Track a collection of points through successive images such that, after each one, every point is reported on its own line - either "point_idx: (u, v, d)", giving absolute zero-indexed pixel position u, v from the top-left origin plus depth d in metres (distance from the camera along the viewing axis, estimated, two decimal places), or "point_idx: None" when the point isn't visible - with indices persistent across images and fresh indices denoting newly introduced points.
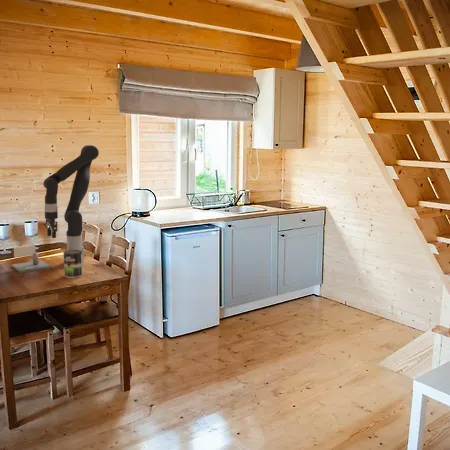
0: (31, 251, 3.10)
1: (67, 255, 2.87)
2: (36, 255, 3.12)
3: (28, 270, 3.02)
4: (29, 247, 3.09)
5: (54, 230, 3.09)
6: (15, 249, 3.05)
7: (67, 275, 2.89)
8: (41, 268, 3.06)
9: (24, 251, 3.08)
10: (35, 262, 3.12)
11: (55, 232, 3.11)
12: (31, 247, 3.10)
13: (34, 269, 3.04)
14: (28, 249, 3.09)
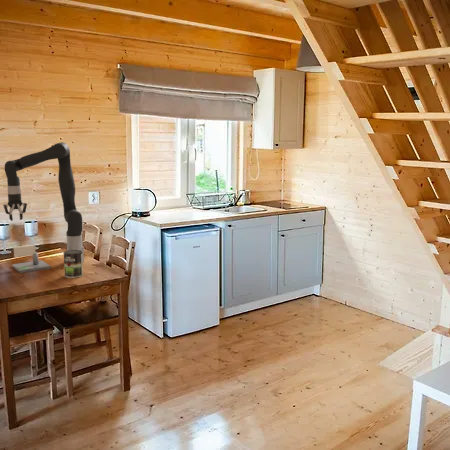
0: (31, 251, 3.10)
1: (67, 255, 2.87)
2: (36, 255, 3.12)
3: (28, 270, 3.02)
4: (29, 247, 3.09)
5: None
6: (15, 249, 3.05)
7: (67, 275, 2.89)
8: (41, 268, 3.06)
9: (24, 251, 3.08)
10: (35, 262, 3.12)
11: None
12: (31, 247, 3.10)
13: (34, 269, 3.04)
14: (28, 249, 3.09)
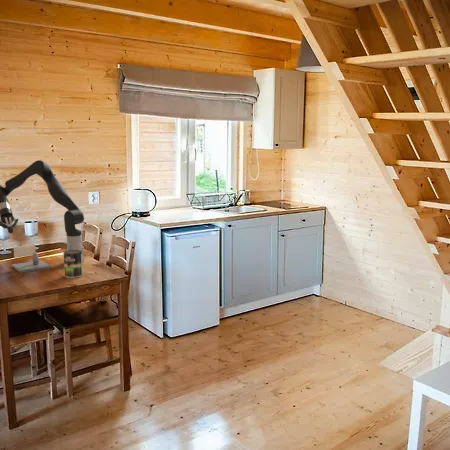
0: (31, 251, 3.10)
1: (67, 255, 2.87)
2: (36, 255, 3.12)
3: (28, 270, 3.02)
4: (29, 247, 3.09)
5: (14, 225, 3.23)
6: (15, 249, 3.05)
7: (67, 275, 2.89)
8: (41, 268, 3.06)
9: (24, 251, 3.08)
10: (35, 262, 3.12)
11: None
12: (31, 247, 3.10)
13: (34, 269, 3.04)
14: (28, 249, 3.09)
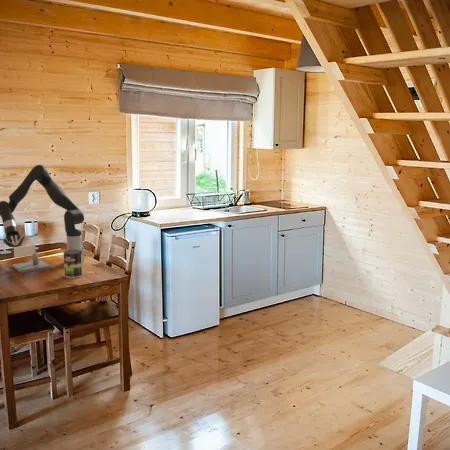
0: (31, 251, 3.10)
1: (67, 255, 2.87)
2: (36, 255, 3.12)
3: (28, 270, 3.02)
4: (29, 247, 3.09)
5: (20, 243, 3.16)
6: (15, 249, 3.05)
7: (67, 275, 2.89)
8: (41, 268, 3.06)
9: (24, 251, 3.08)
10: (35, 262, 3.12)
11: None
12: (31, 247, 3.10)
13: (34, 269, 3.04)
14: (28, 249, 3.09)
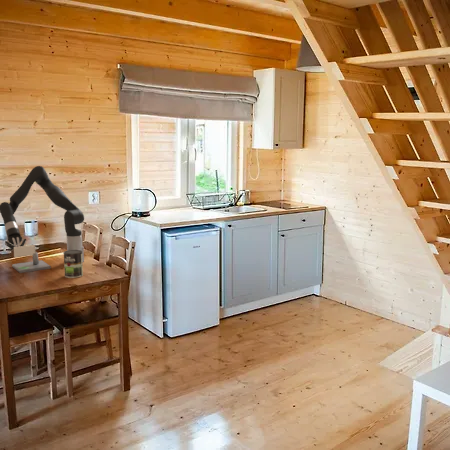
0: (31, 251, 3.10)
1: (67, 255, 2.87)
2: (36, 255, 3.12)
3: (28, 270, 3.02)
4: (29, 247, 3.09)
5: (22, 245, 3.12)
6: (15, 249, 3.05)
7: (67, 275, 2.89)
8: (41, 268, 3.06)
9: (24, 251, 3.08)
10: (35, 262, 3.12)
11: None
12: (31, 247, 3.10)
13: (34, 269, 3.04)
14: (28, 249, 3.09)
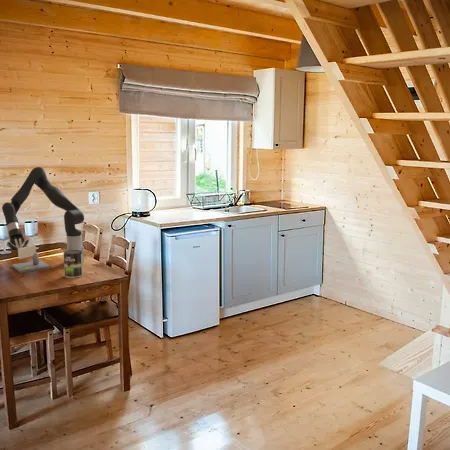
0: (32, 251, 3.10)
1: (67, 255, 2.87)
2: (37, 255, 3.12)
3: (28, 270, 3.02)
4: (31, 247, 3.09)
5: (24, 246, 3.08)
6: (20, 250, 3.01)
7: (67, 275, 2.89)
8: (41, 268, 3.06)
9: (27, 251, 3.06)
10: (36, 262, 3.12)
11: None
12: (32, 247, 3.10)
13: (34, 269, 3.04)
14: (30, 249, 3.08)
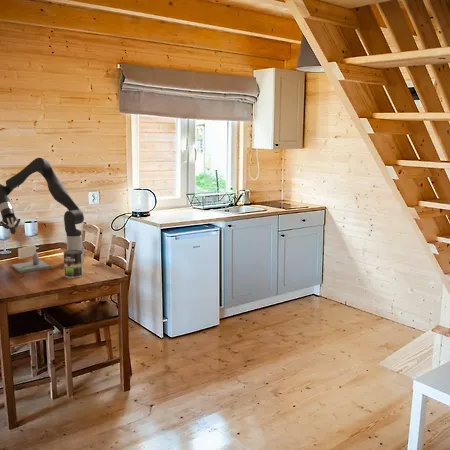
0: (33, 251, 3.10)
1: (67, 255, 2.87)
2: (37, 255, 3.12)
3: (28, 270, 3.02)
4: (31, 247, 3.09)
5: (17, 225, 3.22)
6: (20, 250, 3.01)
7: (67, 275, 2.89)
8: (41, 268, 3.06)
9: (27, 251, 3.06)
10: (36, 262, 3.12)
11: (14, 228, 3.22)
12: (32, 247, 3.10)
13: (34, 269, 3.04)
14: (30, 249, 3.08)
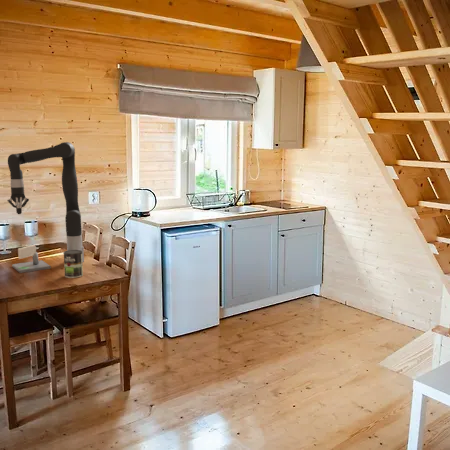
0: (33, 251, 3.10)
1: (67, 255, 2.87)
2: (37, 255, 3.12)
3: (28, 270, 3.02)
4: (31, 247, 3.09)
5: (24, 205, 3.20)
6: (20, 250, 3.01)
7: (67, 275, 2.89)
8: (41, 268, 3.06)
9: (27, 251, 3.06)
10: (36, 262, 3.12)
11: None
12: (32, 247, 3.10)
13: (34, 269, 3.04)
14: (30, 249, 3.08)
